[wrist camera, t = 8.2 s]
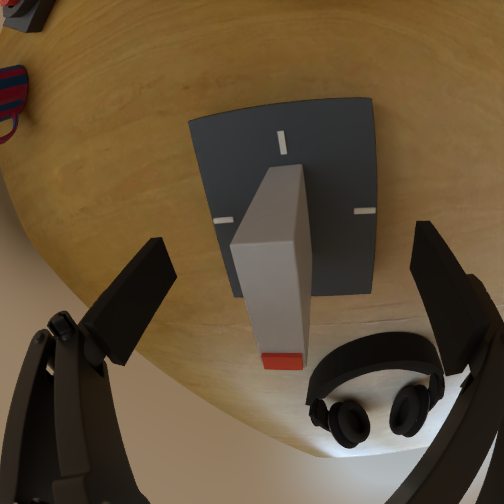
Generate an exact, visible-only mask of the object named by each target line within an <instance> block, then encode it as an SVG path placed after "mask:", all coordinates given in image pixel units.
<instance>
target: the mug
mask: <svg viewBox="0 0 504 504" xmlns="http://www.w3.org/2000/svg"><path fill="white" fill-rule="evenodd" d="M27 91H28V78H27V73H26V70H25V69H24V67H23V66H21V65H16V66H10V67H6V68H1V69H0V122H2V121H4V120H7V119H10V118H13V129H12V131H11V132H10V133H9V134H7V135H5V136H3V137H0V144H2V143H5V142H6V141H8V140H9V139H10V138H11V137H12V136H13V134H14V133H15V131H16V128H17V125H18V114H19V113H20V112H21V110H22V109H23V107H24V104H25V101H26V97H27Z"/></svg>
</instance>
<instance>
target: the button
mask: <svg viewBox="0 0 504 504" xmlns="http://www.w3.org/2000/svg"><path fill="white" fill-rule="evenodd" d="M19 1H20V0H0V5H1V6H14V5H16V4H17V3H18V2H19Z"/></svg>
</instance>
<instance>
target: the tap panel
mask: <svg viewBox="0 0 504 504" xmlns="http://www.w3.org/2000/svg"><path fill="white" fill-rule="evenodd" d="M188 124H189V128H190V132H191V137H192V141H193V145H194V149H195V153H196V157H197V161H198V165H199V169H200V173H201V177H202V181H203V185H204V189H205V193H206V197H207V201H208V205H209V208H210V212H211V216H212V220H213V224H214V227H215V231H216V235H217V238H218V242H219V246H220V249H221V253H222V257H223V260H224V264H225V267H226V271H227V274H228V278H229V281H230V285H231V288H232V292H233V295H234V297H243V293H242V290H241V286H240V282H239V279H238V275H237V271H236V267H235V264H234V260H233V256H232V253H231V249H230V244H231V242H232V240H233V238H234V236H235V234H236V232H237V230H238V228H239V226H240V224H241V222H242V220H243V218H244V216H245V214H246V212H247V210H248V208H249V206H250V204H251V202H252V200H253V198H254V196H255V194H256V192H257V190H258V188H259V187H260V185H261V183H262V181H263V179H264V177H265V175H266V173H267V171H268V169H269V168H270V167H277V166H287V165H297V164H302V166H303V174H304V182H305V190H306V198H307V207H308V216H309V226H310V237H311V248H312V283H311V296H333V295H354V294H370V293H371V289H372V280H373V270H374V259H375V245H376V225H377V159H376V140H375V127H374V116H373V106H372V99H371V98H364V97H352V98H327V99H313V100H301V101H292V102H283V103H275V104H268V105H261V106H255V107H249V108H243V109H237V110H232V111H227V112H222V113H218V114H213V115H209V116H204V117H201V118H197V119H193V120H190V121H188Z"/></svg>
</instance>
